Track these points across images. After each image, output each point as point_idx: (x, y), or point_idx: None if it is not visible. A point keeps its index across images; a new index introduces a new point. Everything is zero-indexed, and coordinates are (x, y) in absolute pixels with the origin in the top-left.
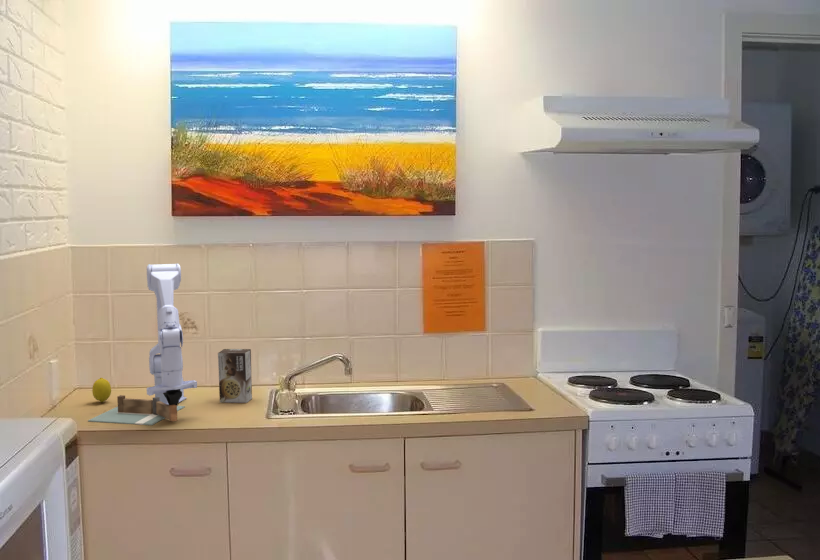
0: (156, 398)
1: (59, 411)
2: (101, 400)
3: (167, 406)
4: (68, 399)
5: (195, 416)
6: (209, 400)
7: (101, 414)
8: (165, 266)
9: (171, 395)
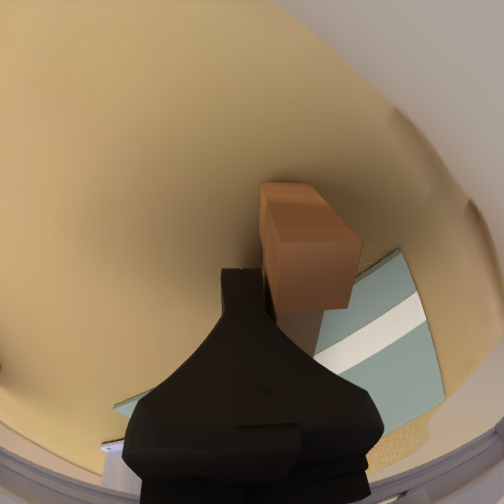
0: None
1: (398, 456)
2: None
3: (308, 346)
4: None
5: (86, 261)
6: (33, 399)
7: (388, 432)
8: None
9: (369, 414)
